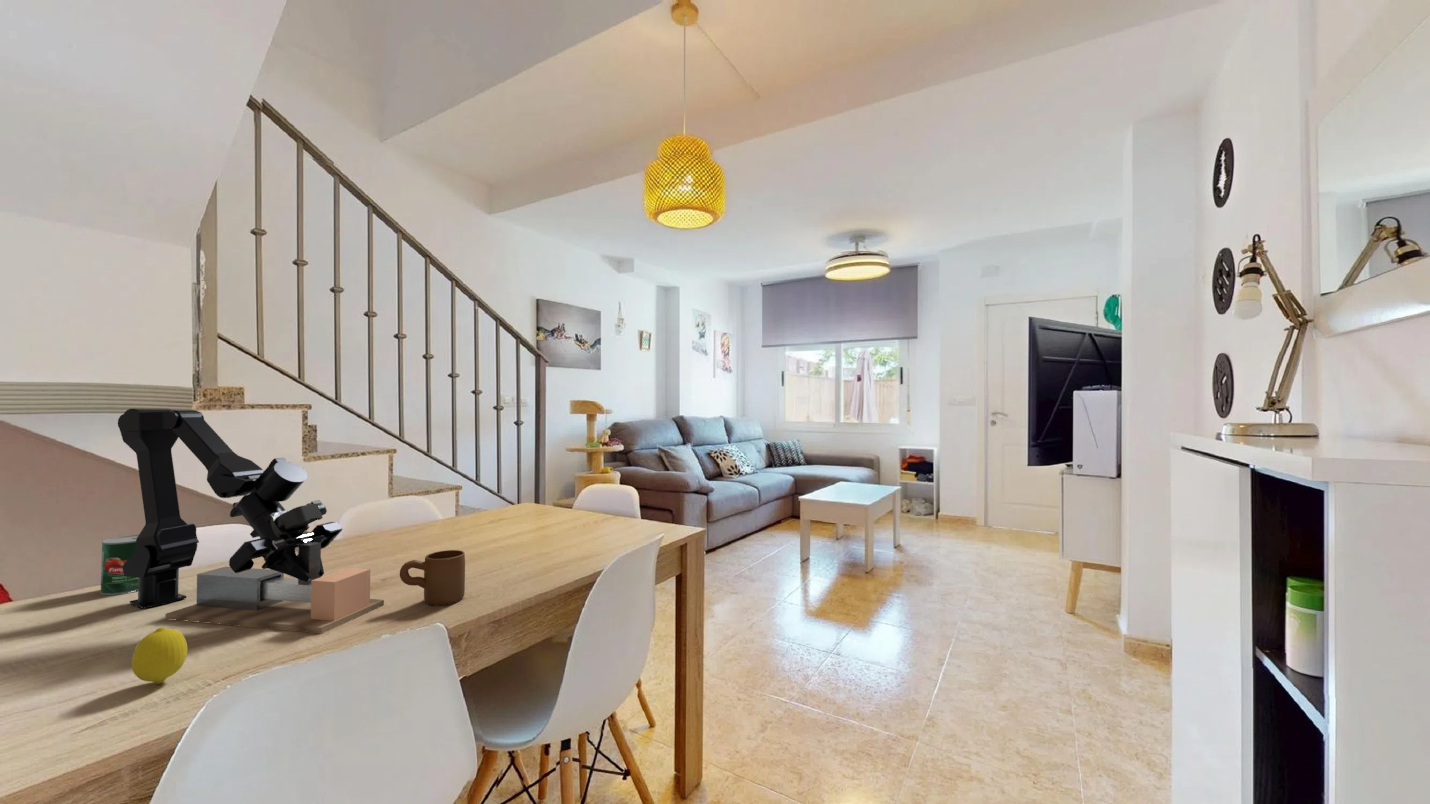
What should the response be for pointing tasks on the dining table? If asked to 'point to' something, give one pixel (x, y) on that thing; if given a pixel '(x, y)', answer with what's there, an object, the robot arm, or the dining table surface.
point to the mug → (439, 576)
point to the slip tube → (292, 586)
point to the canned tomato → (117, 565)
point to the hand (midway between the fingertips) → (315, 577)
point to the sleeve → (234, 588)
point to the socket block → (340, 593)
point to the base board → (269, 616)
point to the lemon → (159, 655)
